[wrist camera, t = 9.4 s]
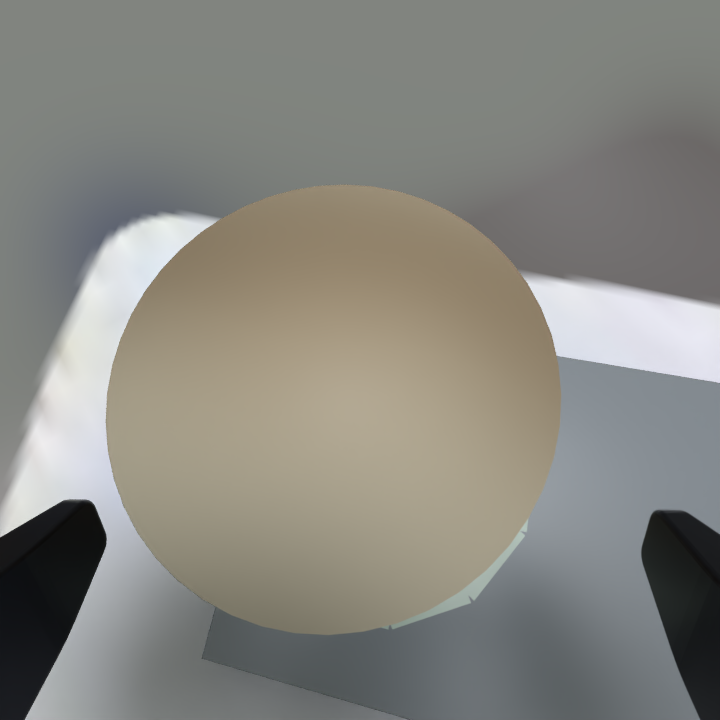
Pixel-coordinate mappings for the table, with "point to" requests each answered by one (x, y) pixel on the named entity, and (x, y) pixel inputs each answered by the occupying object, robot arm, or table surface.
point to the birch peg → (333, 409)
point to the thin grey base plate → (540, 581)
